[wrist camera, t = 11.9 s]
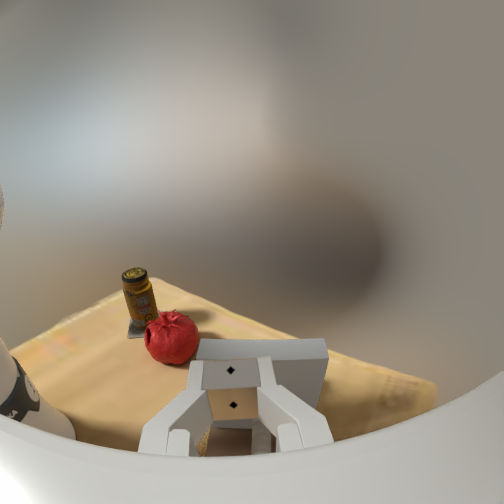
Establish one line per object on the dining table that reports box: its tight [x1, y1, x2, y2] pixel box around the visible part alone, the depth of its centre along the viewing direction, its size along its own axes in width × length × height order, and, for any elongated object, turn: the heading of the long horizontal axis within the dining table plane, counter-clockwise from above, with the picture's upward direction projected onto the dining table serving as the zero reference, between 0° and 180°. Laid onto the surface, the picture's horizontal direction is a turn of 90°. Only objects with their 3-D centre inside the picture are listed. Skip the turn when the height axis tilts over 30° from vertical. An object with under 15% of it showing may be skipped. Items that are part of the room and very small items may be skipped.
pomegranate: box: [144, 309, 199, 364], centre depth 45 cm, size 10×10×9 cm
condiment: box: [122, 267, 162, 338], centre depth 52 cm, size 7×8×12 cm
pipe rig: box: [206, 418, 276, 457], centre depth 27 cm, size 24×14×9 cm, turn 178°
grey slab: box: [196, 338, 329, 429], centre depth 30 cm, size 3×13×14 cm, turn 88°
